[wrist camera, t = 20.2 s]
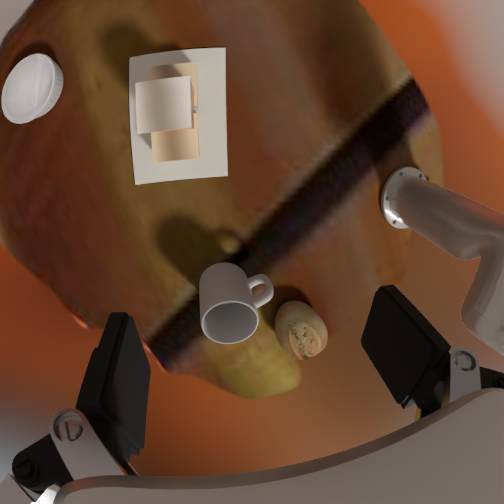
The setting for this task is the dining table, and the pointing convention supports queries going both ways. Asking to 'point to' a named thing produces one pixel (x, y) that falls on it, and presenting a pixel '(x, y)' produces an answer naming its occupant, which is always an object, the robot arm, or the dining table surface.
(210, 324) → the mug
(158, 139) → the maple block
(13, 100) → the ramekin
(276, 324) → the bread roll
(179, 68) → the maple block
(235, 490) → the robot arm
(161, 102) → the birch cube
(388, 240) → the dining table surface
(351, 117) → the dining table surface
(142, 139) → the felt mat
